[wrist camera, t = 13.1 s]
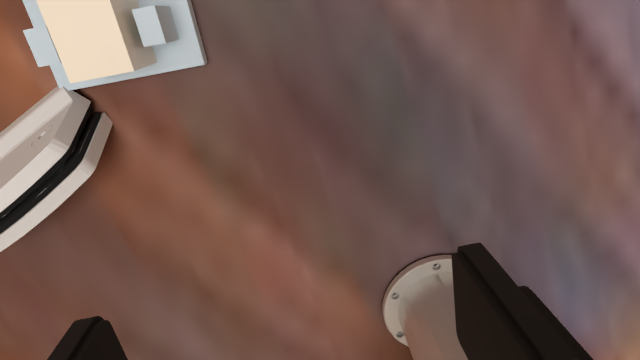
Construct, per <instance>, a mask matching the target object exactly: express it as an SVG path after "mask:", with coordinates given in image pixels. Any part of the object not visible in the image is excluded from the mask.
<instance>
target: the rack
mask: <svg viewBox="0 0 640 360" xmlns="http://www.w3.org/2000/svg"><path fill="white" fill-rule="evenodd" d="M22 1H23V3H24V5H25V8H26V10H27V12H28V15H29V17H30V20H31V22H32V24H33V27H34V28H32V29H27V30H23V32H24V34H25V37H26V39H27V41H28V44H29V46H30V48H31V51H32V53H33V55H34V58H35V60H36V62H37V65H38V67H42V66H47V65H50V67H51V70H52V72H53V74H54V77H55V79H56V81H57V84H58V86H59V89H60V88H62V87H63V86H64V87H65V88H66V89H67V90H68V91H70V90H75V89H80V88H86V87H91V86H96V85H101V84H107V83H112V82H117V81H122V80H127V79H133V78H138V77H143V76H148V75H154V74H159V73H164V72H169V71H175V70H180V69H185V68H190V67H196V66H201V65H205V64H207V63H208V62H207V58H206V55H205V51H204V47H203V44H202V40H201V36H200V33H199V29H198V25H197V22H196V18H195V14H194V11H193V7H192V3H191V0H137V1H138V4H139V7H140V8H137V9H132V13H133V16H134V19H135V22H136V25H137V28H138V31H139V34H140V37H141V40H142V43H143V46H144V47H147V46H152V47H153V50H154V53H155V57H156V60H157V63H154V64H152V65H149V66H147V67H144V68H141V69H139V70H136V71H132V72H127V73H122V74H117V75H112V76H106V77H101V78H96V79H91V80H86V81H80V82H75V83H70V82H69V80H68V77H67V75H66V72H65V70H64V67H63V65H62V63H61V60H60V58H59V55H58V53H57V50H56V48H55V45H54V43H53V41H52V38H51V36H50V33H49V31H48V28H47V26H46V23H45V21H44V19H43V16H42V14H41V11H40V9H39V6H38V4H37V2H36V0H22Z"/></svg>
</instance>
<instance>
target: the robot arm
mask: <svg viewBox="0 0 640 360" xmlns="http://www.w3.org/2000/svg"><path fill="white" fill-rule="evenodd" d="M382 313H383V317H384V321H385V324H386V326H387V328H388V330H389V332H390V333H391V334H392V336H393V337H394V338H395V339H396V340H398V341H399V342H400V343H402V344H404V345H406V346H408V347H409V349H410V352H411V355H412V357H413V360H593V359H592V358H591V356H590V355H589V354H588V353H587V352H586V351H585V350H584V349H583V347H582V346H581V345H580V344H579V343H578V342H577V341H576V340H575V338H574V337H573V336H572V335H571V334H570V333H569V332H568V331H567V329H566V328H565V327H564V326H563V325H562V324H561V323H560V322H559V320H558V319H557V318H556V317H555V316H554V315H553V314H552V313H551V311H550V310H549V309H548V308H547V307H546V306H545V305H544V304H543V303H542V301H541V300H540V299H539V298H538V297H537V296H536V295H535V294H534V292H533V291H532V290H531V289H529V288H528V287H526V286H520V287H518V286H517V285H516V284H515V282H514V281H513V280H512V279H511V278H510V277H509V275H508V274H507V273H506V272H505V271H504V269H503V268H502V267H501V266H500V265H499V264H498V262H497V261H496V260H495V259H494V258H493V257H492V255H491V254H490V253H489V252H488V251H487V250H486V248H485V247H484V246H483V245H482V244H481V243H475V244H470V245H464V246H459V247H458V250H457V253H453V254H452V255H438V256H431V257H428V258H425V259H421V260H419V261H417V262H415V263H413V264H411V265H409V266H408V267H406V268H405V269H404V270H402V271H401V272H400V273H399V274H398V275H397V276H396V277H395V278H394V279H393V280H392V282H391V283H390V285H389V286H388V288H387V290H386V292H385V295H384V298H383V303H382ZM47 360H128V359H127V357H126V355H125V353H124V351H123V349H122V347H121V345H120V342H119V340H118V338H117V336H116V334H115V332H114V330H113V328H112V325H111V324H110V322H109V321H107V320H104V319H103V318H102V317H100V316H96V317H91V318H86V319H80V320H77V321H75V322H74V323H73V324H72V325H71V327H70V328H69V329H68V331H67V332H66V334H65V335H64V336H63V338H62V339H61V341H60V342H59V344H58V345H57V346H56V348H55V349H54V351H53V352H52V354H51V355H50V356H49V358H48V359H47Z"/></svg>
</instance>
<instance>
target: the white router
mask: <svg viewBox="0 0 640 360" xmlns="http://www.w3.org/2000/svg"><path fill="white" fill-rule="evenodd" d="M90 103H91V101H89V100H88V99H86V98H84V97H83V96H81V95H79V94H78V93H76V92H74V91H72V90H70V91H68V90H67V89H66V88H65V87H64V86H63V87H62V88H60V89H59V86H57V87H55V88H54V89H53V90H52V91H51V92H49V93H48V94H47V95H46V96H45V97H43V98H42V99H41V100H40V101H38V102H37V103H36V104H35V105H34V106H32V107H31V108H30V109H29V110H28V111H26V112H25V113H24V114H23V115H21V116H20V117H19V118H18V119H17V120H15V121H14V122H13V123H12V124H10V125H9V126H8V127H7V128H6V129H4V130H3V131H2V132H1V133H0V252H1V251H2V250H4V249H5V248H7V247H8V246H10V245H11V244H12V243H14V242H15V241H17V240H18V239H19V238H21V237H22V236H24V235H25V234H26V233H27V232H29V231H30V230H31V229H33V228H34V227H35V226H36V225H38V224H39V223H40V222H41V221H42V220H43V219H45V218H46V217H47V216H48V215H49V214H50V213H52V212H53V211H54V210H55V209H56V208H57V207H58V206H60V205H61V204H62V203H63V202H64V201H65V200H66V199H67V198H68V197H69V196H70V195H72V194H73V193H74V192H75V191H76V190H77V189H78V188H79V187H80V186H81V185H82V184H83V183H84V182H85V181H86V180H87V179H88V178H89V177H90V176H91V175H92V173H93V172H94V171H95V169H96V167H97V164H98V161H99V159H100V156H101V154H102V151H103V148H104V146H105V143H106V140H107V138H108V135H109V133H110V130H111V127H112V125H113V123H112V121H111V120H110V118H109V117H108V116H107V115H106V113H105V112H104V113H102V114H101V115H100V114H99V113H96V114H94V115H93V116H92V117H90V118H89V119H88V117H89V115H90V113H91V111H92V108H91V107H90V106H89V105H90ZM87 119H88V120H87Z"/></svg>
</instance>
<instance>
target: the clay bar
mask: <svg viewBox="0 0 640 360" xmlns="http://www.w3.org/2000/svg"><path fill="white" fill-rule="evenodd" d="M36 2H37V4H38V6H39V9H40V11H41V14H42V16H43V19H44V21H45V23H46V26H47V28H48V31H49V33H50V36H51V38H52V41H53V43H54V45H55V48H56V50H57V53H58V55H59V58H60V60H61V63H62V65H63V67H64V70H65V72H66V75H67V77H68V80H69V82H70V83H75V82H80V81H86V80H91V79H96V78H101V77H106V76H112V75H117V74H122V73H127V72H132V71H136V70H139V69H141V68H144V67H147V66H149V65H152V64H154V63H157V60H156V57H155V53H154V50H153V47H152V46H147V47H144V46H143V43H142V40H141V37H140V34H139V31H138V28H137V25H136V22H135V19H134V16H133V13H132V9H137V8H140V7H139V4H138V1H137V0H36Z"/></svg>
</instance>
